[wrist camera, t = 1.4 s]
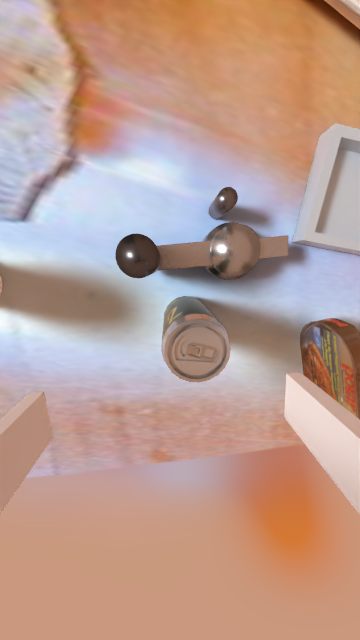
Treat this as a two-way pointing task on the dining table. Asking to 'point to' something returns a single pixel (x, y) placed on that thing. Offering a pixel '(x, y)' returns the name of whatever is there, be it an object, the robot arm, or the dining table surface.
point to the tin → (333, 360)
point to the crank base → (216, 211)
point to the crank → (200, 252)
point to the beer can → (193, 340)
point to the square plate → (347, 9)
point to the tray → (333, 193)
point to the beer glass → (0, 285)
